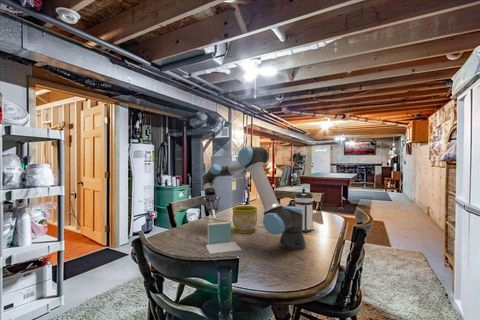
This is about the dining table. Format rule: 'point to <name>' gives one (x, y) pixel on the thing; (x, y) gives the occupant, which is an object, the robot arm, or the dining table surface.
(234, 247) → the mat
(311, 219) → the coffee press
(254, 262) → the dining table surface
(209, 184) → the robot arm
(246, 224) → the flowerpot
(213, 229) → the tile
